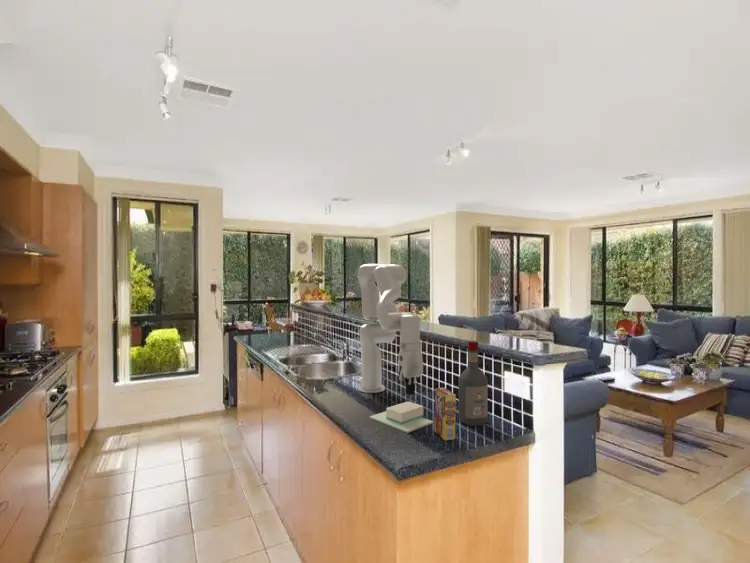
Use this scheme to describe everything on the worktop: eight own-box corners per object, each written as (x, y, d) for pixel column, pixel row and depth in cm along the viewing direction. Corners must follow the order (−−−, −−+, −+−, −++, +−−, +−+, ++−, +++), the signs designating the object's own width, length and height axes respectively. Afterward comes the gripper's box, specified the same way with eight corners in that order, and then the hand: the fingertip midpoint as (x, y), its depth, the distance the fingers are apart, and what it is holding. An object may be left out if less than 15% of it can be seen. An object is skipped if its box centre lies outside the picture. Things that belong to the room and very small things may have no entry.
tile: (408, 411, 164) (386, 418, 155) (408, 401, 163) (386, 408, 155) (423, 416, 158) (401, 424, 150) (423, 406, 158) (401, 413, 149)
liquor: (490, 424, 151) (490, 343, 150) (468, 427, 148) (468, 344, 147) (477, 416, 159) (477, 339, 159) (456, 418, 157) (456, 340, 156)
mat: (369, 418, 158) (369, 416, 158) (395, 409, 167) (395, 408, 167) (407, 433, 143) (407, 431, 143) (433, 423, 152) (433, 421, 152)
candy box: (456, 439, 137) (456, 394, 137) (444, 441, 136) (444, 395, 136) (445, 429, 146) (445, 387, 145) (434, 431, 145) (433, 388, 144)
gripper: (403, 350, 150) (403, 400, 150) (430, 345, 160) (430, 392, 160) (389, 347, 156) (389, 395, 156) (415, 343, 166) (415, 388, 166)
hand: (410, 393), depth 158 cm, fingers closed
